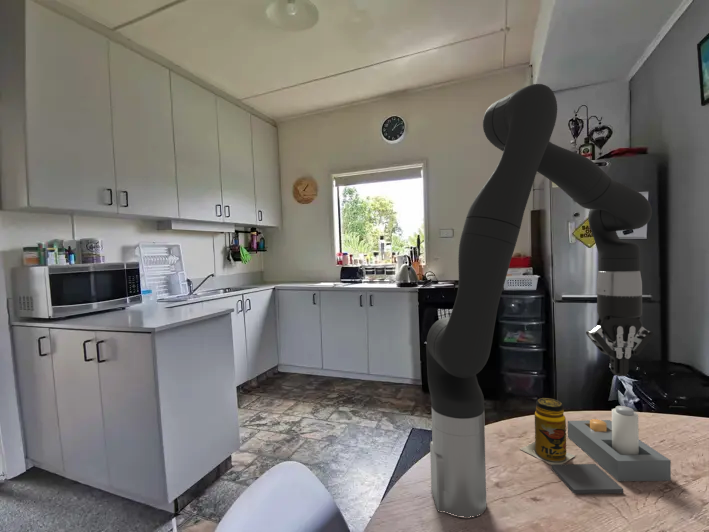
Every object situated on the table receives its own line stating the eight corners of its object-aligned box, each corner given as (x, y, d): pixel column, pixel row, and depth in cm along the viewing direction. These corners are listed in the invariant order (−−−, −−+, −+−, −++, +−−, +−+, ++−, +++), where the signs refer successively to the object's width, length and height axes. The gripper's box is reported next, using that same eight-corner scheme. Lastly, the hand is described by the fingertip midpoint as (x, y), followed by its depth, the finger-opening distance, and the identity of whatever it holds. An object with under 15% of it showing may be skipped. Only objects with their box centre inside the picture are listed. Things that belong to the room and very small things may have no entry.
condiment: (556, 468, 74) (556, 411, 74) (519, 449, 81) (518, 397, 81) (575, 457, 78) (574, 402, 77) (538, 440, 85) (537, 390, 85)
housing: (618, 481, 69) (617, 461, 69) (567, 437, 86) (567, 420, 86) (670, 480, 69) (670, 460, 69) (609, 436, 86) (609, 420, 86)
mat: (574, 493, 66) (573, 489, 66) (551, 468, 74) (551, 464, 74) (623, 493, 66) (623, 489, 66) (595, 467, 74) (595, 463, 74)
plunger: (595, 447, 81) (595, 425, 81) (587, 440, 84) (586, 419, 84) (610, 447, 81) (609, 425, 81) (600, 439, 84) (600, 419, 84)
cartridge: (622, 472, 72) (621, 413, 71) (607, 460, 76) (606, 404, 76) (644, 472, 72) (643, 413, 71) (628, 459, 76) (627, 404, 76)
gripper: (599, 295, 70) (600, 382, 71) (666, 293, 70) (666, 380, 71) (576, 291, 78) (576, 370, 78) (636, 290, 78) (637, 368, 78)
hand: (619, 375), depth 74 cm, fingers closed
